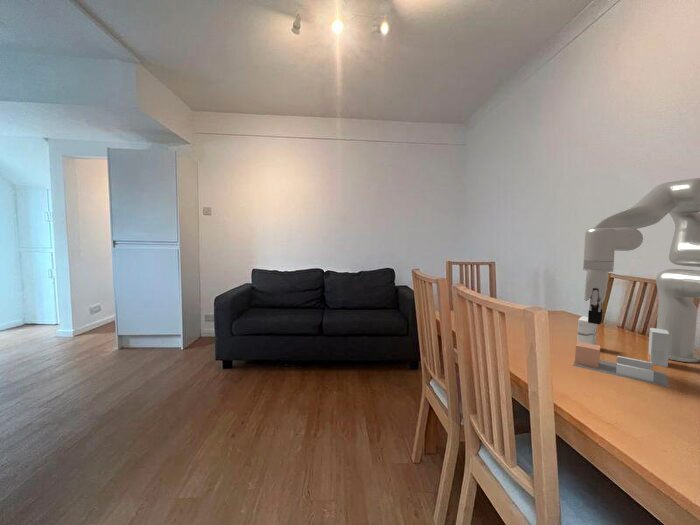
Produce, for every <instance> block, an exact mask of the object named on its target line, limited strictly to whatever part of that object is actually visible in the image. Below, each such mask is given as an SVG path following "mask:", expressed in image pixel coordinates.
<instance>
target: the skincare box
mask: <svg viewBox="0 0 700 525" xmlns="http://www.w3.org/2000/svg"><path fill="white" fill-rule="evenodd" d="M669 342H670V334H669V332H668V331H667V330H664V329H657V327H656V328H655V327H649V336H648V349H647V350H648V352H647V353H648V354H647V361H648V362H652V366H659V367H665V368H668V367H669V359H668V357H669Z"/></svg>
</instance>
